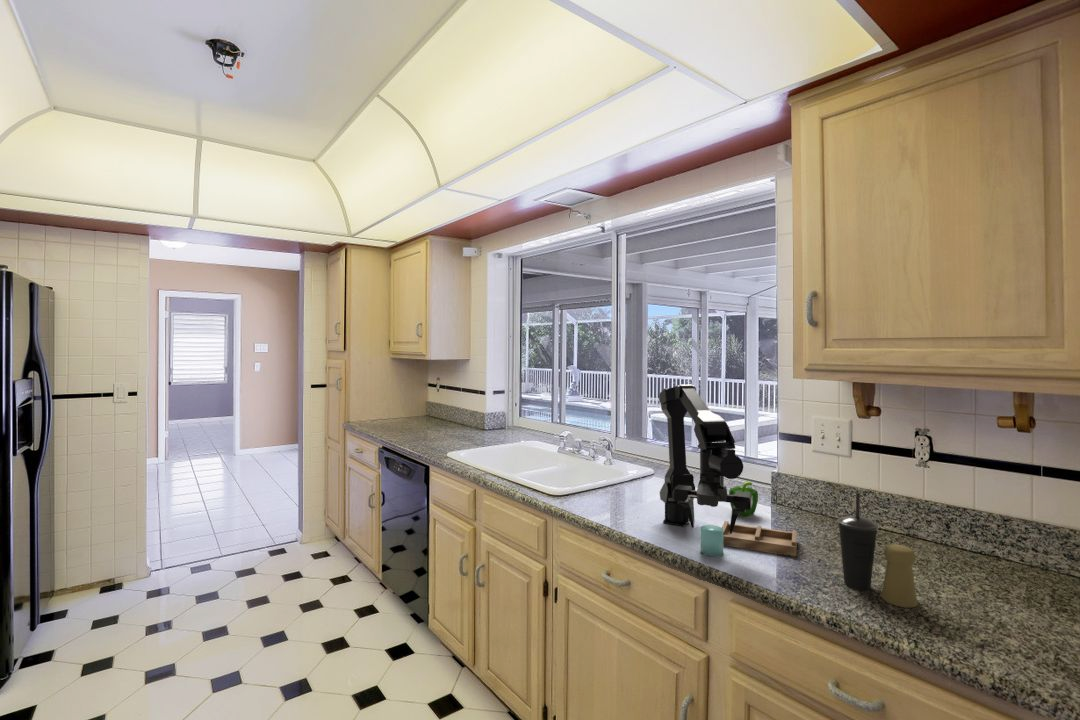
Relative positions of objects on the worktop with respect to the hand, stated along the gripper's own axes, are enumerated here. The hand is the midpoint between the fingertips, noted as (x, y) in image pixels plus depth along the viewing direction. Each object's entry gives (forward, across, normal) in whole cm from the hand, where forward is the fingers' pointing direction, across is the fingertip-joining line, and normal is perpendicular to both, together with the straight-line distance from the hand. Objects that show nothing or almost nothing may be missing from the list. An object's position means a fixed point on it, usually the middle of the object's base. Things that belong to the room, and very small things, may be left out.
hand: (711, 530), depth 131 cm
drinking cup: (+6, +31, -5) cm, 32 cm away
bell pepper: (+6, +4, +35) cm, 36 cm away
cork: (+6, +38, -9) cm, 40 cm away
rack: (+5, +10, +11) cm, 16 cm away
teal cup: (+6, 0, 0) cm, 6 cm away
